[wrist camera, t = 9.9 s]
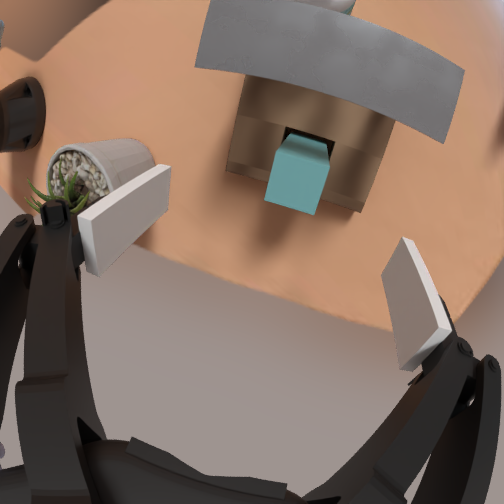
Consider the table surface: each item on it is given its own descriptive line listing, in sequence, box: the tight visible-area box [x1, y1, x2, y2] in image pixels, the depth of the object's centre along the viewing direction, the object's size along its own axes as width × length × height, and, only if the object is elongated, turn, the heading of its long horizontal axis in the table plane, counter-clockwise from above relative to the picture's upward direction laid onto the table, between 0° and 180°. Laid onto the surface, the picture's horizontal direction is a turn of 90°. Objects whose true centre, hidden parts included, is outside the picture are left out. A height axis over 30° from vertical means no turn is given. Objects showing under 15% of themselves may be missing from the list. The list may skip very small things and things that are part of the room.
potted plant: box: [24, 138, 155, 226], centre depth 27 cm, size 13×14×20 cm
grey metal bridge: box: [195, 0, 465, 144], centre depth 18 cm, size 16×6×15 cm, turn 77°
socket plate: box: [226, 75, 395, 213], centre depth 26 cm, size 16×16×2 cm
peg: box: [264, 132, 330, 215], centre depth 25 cm, size 4×4×12 cm
